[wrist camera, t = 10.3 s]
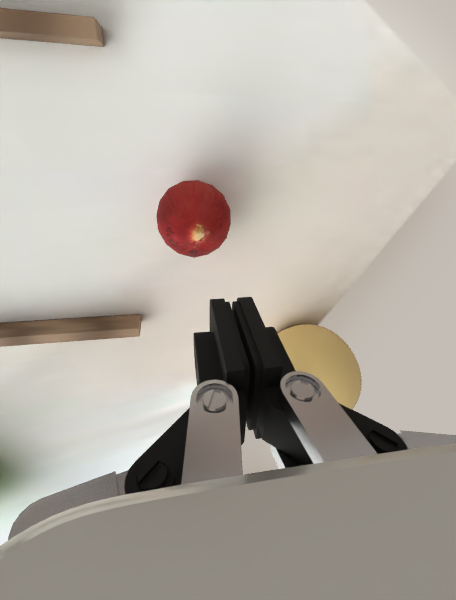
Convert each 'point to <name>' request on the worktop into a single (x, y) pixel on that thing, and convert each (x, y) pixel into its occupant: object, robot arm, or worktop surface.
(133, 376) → the worktop surface
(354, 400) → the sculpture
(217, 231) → the onion
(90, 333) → the wooden u-shaped frame
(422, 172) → the worktop surface
